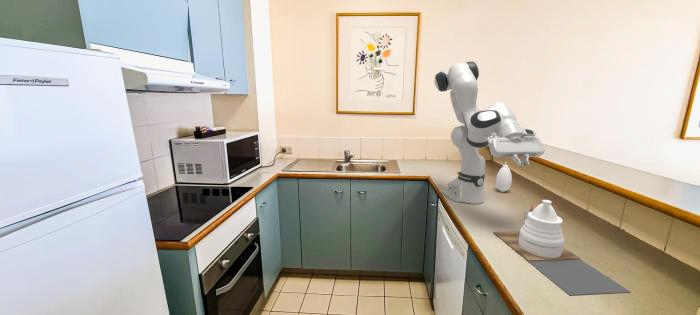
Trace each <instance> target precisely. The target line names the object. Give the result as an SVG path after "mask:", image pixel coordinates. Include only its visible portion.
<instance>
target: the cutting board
mask: <svg viewBox="0 0 700 315" xmlns="http://www.w3.org/2000/svg"><path fill="white" fill-rule="evenodd" d="M493 234H494V235H495V236H496V237H497V238H499V239H500V240H502V241H503V243H505V245H507V246H509V248H511V250H513V251H515V252H516V253H517V254H518V255H519V256H521V258H523V259H525V261H527V263H529V261H551V260H574V259H581V257H580V256H578V255H576V254H575V253H573V252H571V251H570V250H569V249H567V248H565V247H564V246H563V250H562V255H561V256H560V257H557V258H545V257H540V256H537V255H533V254H531V253H529V252H527V251H525V250H523V249H522V248H521V247H520V246H519V244H518V241H519V235H520V230H508V231H503V230H502V231H493Z"/></svg>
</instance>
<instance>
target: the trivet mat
mask: <svg viewBox="0 0 700 315" xmlns="http://www.w3.org/2000/svg"><path fill="white" fill-rule="evenodd" d="M528 263H529V264H531V266H533V267H534V268H535V269H537V270H538V271H539V272H540V273H541V274H542V275H543V276H545V277H546V278H547V279H549V280H550V281H551V282H552V283H554V285H556V287H559V288H560V289H561V290H562V291H564V293H566V294H567V295H568V296H571V297H572V296H589V295H591V296H592V295H606V294H607V295H608V294H609V295H610V294H624V293H625V294H626V293H631V291H630V290H629V289H627V288H626V287H624V286H623V285H621V284H620V283H618V282H616V281H615V280H614V279H612V278H610V277H609V276H608V275H605V274H604V273H602V272H601V271H599V270H597V269H596V268H595V267H593V266H592V265H590V264H588V263H587V262H585V261H583V259H581V258H580V259H574V260H551V261H529V262H528Z"/></svg>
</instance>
